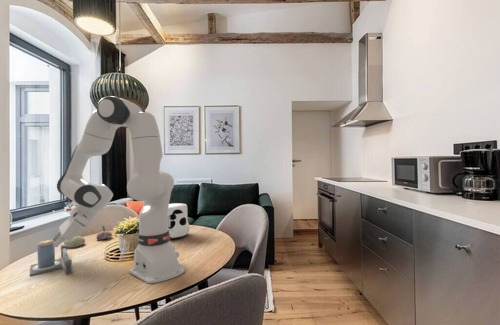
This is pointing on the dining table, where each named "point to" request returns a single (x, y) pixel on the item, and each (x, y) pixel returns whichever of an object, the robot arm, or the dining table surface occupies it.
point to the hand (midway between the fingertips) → (53, 243)
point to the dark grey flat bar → (66, 260)
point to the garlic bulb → (104, 234)
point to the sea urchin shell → (75, 242)
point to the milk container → (177, 220)
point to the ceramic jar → (46, 254)
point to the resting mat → (36, 270)
